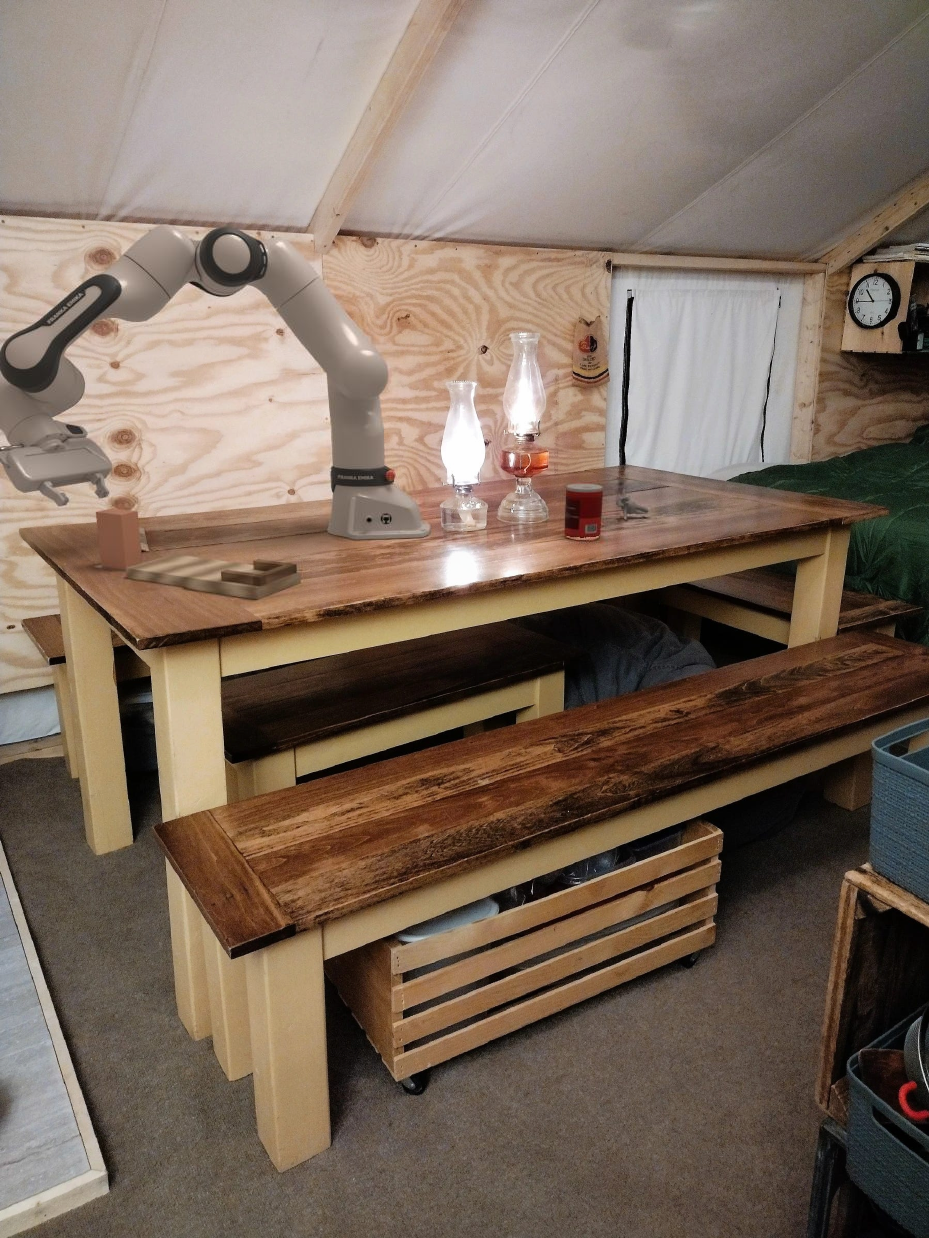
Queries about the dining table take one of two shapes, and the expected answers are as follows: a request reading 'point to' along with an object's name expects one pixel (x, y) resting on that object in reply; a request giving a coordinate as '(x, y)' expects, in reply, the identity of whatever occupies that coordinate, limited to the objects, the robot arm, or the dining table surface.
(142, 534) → the newspaper
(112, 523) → the block
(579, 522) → the canned food
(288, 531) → the dining table surface
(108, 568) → the plate
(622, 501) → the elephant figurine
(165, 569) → the rail deck
